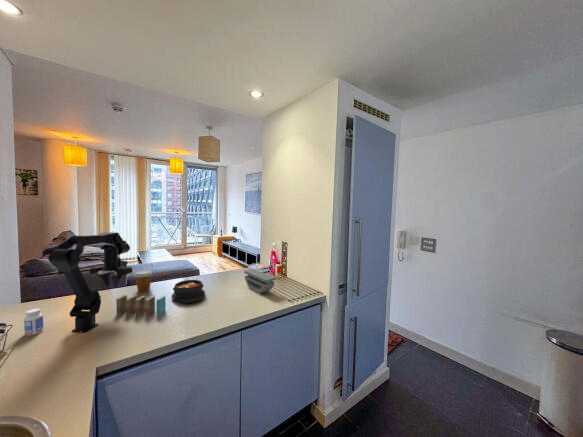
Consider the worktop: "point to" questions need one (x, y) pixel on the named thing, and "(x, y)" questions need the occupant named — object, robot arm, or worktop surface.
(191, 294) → the casserole
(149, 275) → the disposable coffee cup
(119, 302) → the domino
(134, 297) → the domino
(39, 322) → the pill bottle
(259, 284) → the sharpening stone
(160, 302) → the teal domino
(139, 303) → the domino
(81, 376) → the worktop surface
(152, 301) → the domino
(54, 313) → the worktop surface
